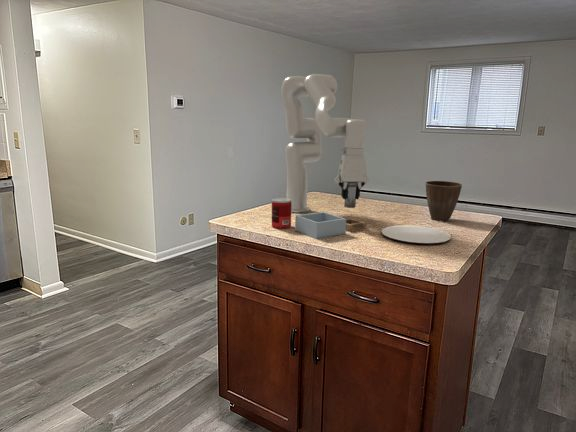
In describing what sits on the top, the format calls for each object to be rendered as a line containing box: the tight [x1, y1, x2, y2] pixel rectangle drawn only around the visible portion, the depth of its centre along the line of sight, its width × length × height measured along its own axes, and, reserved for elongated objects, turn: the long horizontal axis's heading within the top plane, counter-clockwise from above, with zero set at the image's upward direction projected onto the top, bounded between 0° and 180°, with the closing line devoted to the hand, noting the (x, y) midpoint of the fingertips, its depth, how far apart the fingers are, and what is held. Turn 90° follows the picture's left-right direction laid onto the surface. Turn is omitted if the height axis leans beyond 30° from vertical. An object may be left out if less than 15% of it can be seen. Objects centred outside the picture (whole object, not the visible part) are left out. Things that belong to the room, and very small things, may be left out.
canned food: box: [271, 197, 292, 230], centre depth 176 cm, size 8×8×11 cm
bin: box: [294, 211, 347, 240], centre depth 169 cm, size 14×14×6 cm
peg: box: [343, 182, 358, 209], centre depth 175 cm, size 5×5×10 cm
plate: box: [380, 224, 452, 245], centre depth 166 cm, size 25×25×2 cm
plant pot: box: [425, 180, 463, 222], centre depth 193 cm, size 15×15×16 cm
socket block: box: [345, 217, 367, 232], centre depth 177 cm, size 9×9×2 cm
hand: (350, 198), depth 175 cm, fingers closed on peg, 4 cm apart
